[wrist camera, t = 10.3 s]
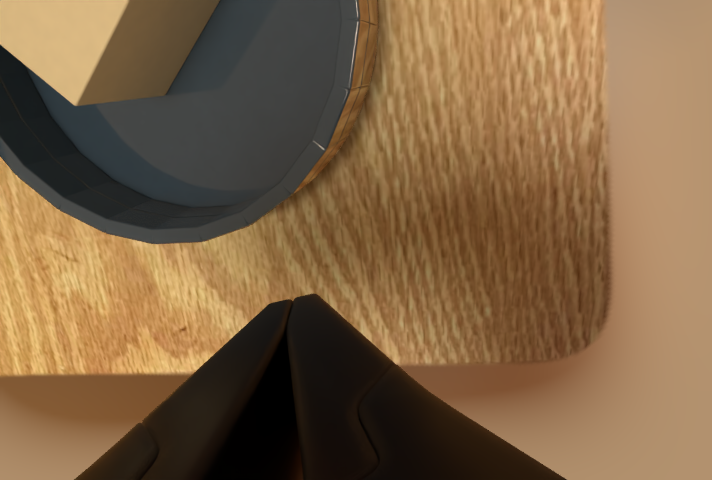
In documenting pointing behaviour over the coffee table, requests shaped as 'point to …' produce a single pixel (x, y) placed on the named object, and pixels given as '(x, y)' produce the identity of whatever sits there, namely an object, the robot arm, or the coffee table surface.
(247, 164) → the bowl
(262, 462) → the robot arm
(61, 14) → the block
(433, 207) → the coffee table surface
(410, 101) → the coffee table surface
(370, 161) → the coffee table surface
